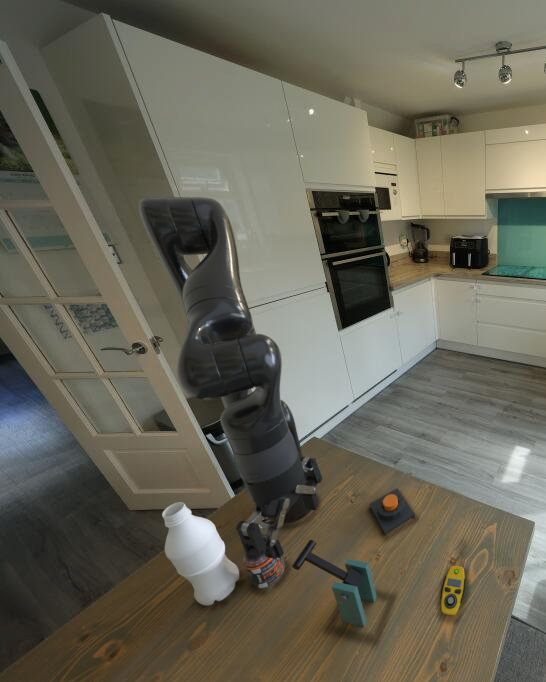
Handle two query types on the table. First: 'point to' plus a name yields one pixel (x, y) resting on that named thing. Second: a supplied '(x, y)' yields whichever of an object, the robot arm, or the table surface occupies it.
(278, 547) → the robot arm
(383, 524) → the control block
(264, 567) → the supplement bottle
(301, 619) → the table surface
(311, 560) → the lever
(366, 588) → the pair of teal panels
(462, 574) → the remote control
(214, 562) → the water bottle
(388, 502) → the button
